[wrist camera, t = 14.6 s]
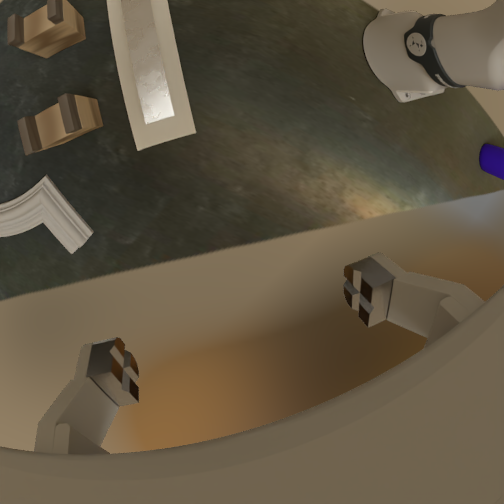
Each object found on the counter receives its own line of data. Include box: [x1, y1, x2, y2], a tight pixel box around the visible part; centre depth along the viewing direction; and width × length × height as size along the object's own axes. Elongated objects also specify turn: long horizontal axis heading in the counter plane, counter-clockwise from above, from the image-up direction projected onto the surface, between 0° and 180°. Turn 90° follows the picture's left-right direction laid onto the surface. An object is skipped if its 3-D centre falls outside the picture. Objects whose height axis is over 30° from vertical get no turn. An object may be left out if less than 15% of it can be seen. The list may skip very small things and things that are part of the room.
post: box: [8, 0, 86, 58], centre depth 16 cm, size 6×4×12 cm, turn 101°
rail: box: [121, 0, 175, 124], centre depth 24 cm, size 4×22×4 cm, turn 11°
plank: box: [107, 0, 196, 151], centre depth 26 cm, size 8×28×1 cm, turn 11°
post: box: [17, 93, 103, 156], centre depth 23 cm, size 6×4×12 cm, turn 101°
